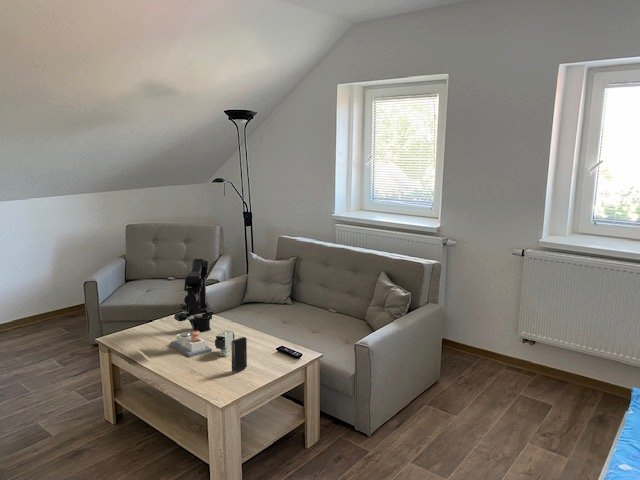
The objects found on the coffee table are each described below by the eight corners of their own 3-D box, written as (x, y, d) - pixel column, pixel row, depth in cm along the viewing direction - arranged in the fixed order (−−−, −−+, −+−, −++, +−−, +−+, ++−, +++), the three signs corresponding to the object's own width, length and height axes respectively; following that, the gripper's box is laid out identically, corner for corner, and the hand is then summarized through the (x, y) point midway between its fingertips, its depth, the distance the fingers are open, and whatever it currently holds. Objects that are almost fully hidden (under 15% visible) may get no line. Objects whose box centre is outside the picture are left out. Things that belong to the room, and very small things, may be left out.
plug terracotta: (197, 339, 251) (196, 330, 250) (201, 341, 247) (201, 332, 247) (188, 341, 248) (188, 331, 247) (192, 343, 244) (192, 334, 244)
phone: (233, 373, 223) (232, 341, 221) (231, 372, 224) (231, 340, 221) (246, 367, 229) (246, 336, 226) (245, 367, 229) (245, 336, 227)
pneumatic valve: (235, 351, 248) (234, 328, 247) (223, 360, 237) (222, 336, 236) (225, 350, 250) (225, 327, 248) (213, 358, 239) (212, 334, 237)
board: (191, 339, 264) (191, 329, 263) (211, 351, 248) (211, 341, 247) (170, 344, 256) (170, 334, 256) (189, 357, 240) (189, 346, 239)
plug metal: (188, 340, 259) (188, 331, 258) (192, 342, 255) (192, 333, 255) (180, 342, 256) (179, 333, 255) (184, 344, 252) (183, 335, 252)
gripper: (203, 294, 257) (204, 323, 259) (169, 300, 245) (170, 330, 247) (214, 298, 248) (214, 328, 251) (178, 304, 236) (179, 336, 239)
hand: (194, 330), depth 247 cm, fingers closed
